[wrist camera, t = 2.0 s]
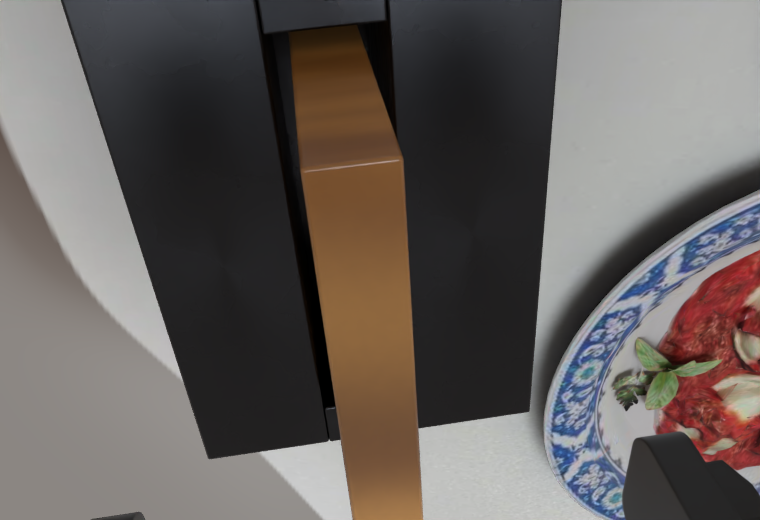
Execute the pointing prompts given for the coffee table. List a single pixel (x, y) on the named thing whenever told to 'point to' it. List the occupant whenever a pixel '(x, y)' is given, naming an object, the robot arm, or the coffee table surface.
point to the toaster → (287, 205)
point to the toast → (360, 266)
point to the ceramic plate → (665, 362)
